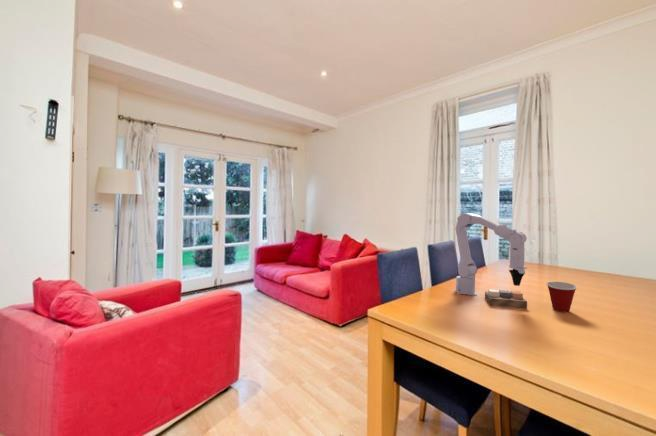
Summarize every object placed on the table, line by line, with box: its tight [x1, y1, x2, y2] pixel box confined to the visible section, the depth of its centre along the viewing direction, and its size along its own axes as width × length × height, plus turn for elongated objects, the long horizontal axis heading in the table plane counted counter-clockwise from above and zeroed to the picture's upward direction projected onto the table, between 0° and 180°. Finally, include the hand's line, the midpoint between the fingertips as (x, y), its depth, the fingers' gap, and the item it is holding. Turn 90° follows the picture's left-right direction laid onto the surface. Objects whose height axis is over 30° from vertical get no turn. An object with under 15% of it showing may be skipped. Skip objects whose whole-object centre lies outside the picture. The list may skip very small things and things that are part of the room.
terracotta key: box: [509, 290, 524, 299], centre depth 133 cm, size 4×4×3 cm
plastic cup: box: [546, 281, 578, 313], centre depth 125 cm, size 11×11×12 cm
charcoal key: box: [498, 289, 511, 298], centre depth 134 cm, size 4×4×3 cm
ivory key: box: [487, 289, 500, 297], centre depth 136 cm, size 4×4×3 cm
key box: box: [484, 291, 528, 310], centre depth 134 cm, size 15×11×4 cm
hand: (516, 285), depth 132 cm, fingers closed
